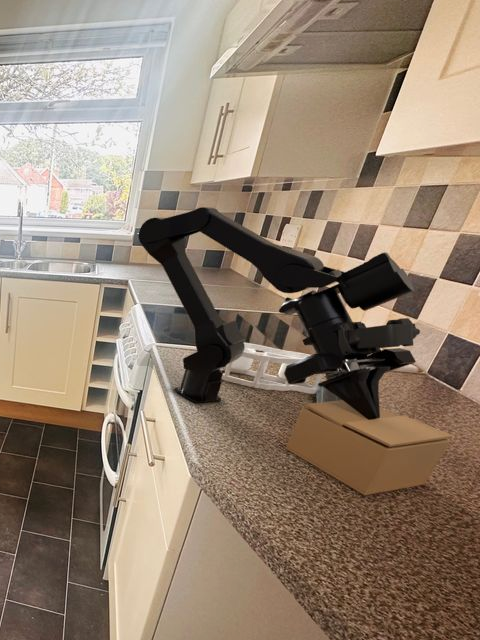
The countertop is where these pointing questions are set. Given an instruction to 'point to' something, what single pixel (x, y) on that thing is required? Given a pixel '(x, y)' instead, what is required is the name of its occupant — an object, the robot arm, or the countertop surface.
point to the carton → (370, 450)
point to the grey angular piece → (325, 395)
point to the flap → (342, 412)
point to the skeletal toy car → (269, 356)
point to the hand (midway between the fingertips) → (374, 419)
